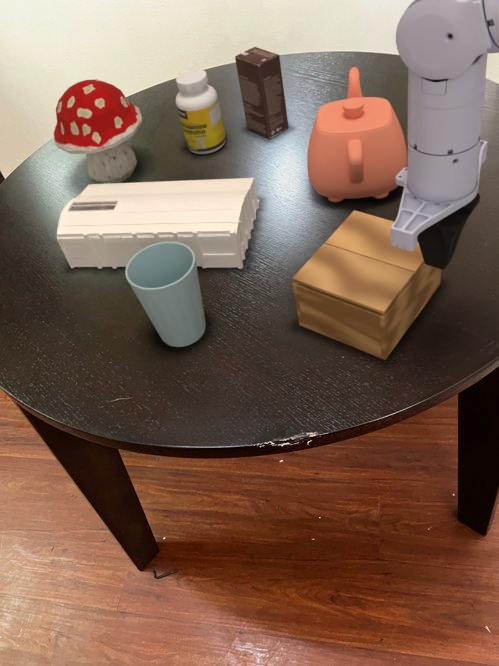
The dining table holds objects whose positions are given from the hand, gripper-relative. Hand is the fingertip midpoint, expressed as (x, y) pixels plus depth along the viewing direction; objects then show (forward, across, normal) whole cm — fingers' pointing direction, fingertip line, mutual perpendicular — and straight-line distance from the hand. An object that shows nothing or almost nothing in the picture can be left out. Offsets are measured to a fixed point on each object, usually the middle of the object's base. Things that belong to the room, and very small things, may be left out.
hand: (437, 262), depth 62 cm
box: (+10, -29, -43) cm, 52 cm away
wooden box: (+10, -1, -8) cm, 13 cm away
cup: (+10, +13, -26) cm, 30 cm away
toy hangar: (+10, 0, -40) cm, 41 cm away
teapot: (+10, -22, -22) cm, 33 cm away
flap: (+3, -4, -8) cm, 10 cm away
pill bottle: (+10, -21, -49) cm, 55 cm away
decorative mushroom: (+10, -8, -59) cm, 60 cm away
